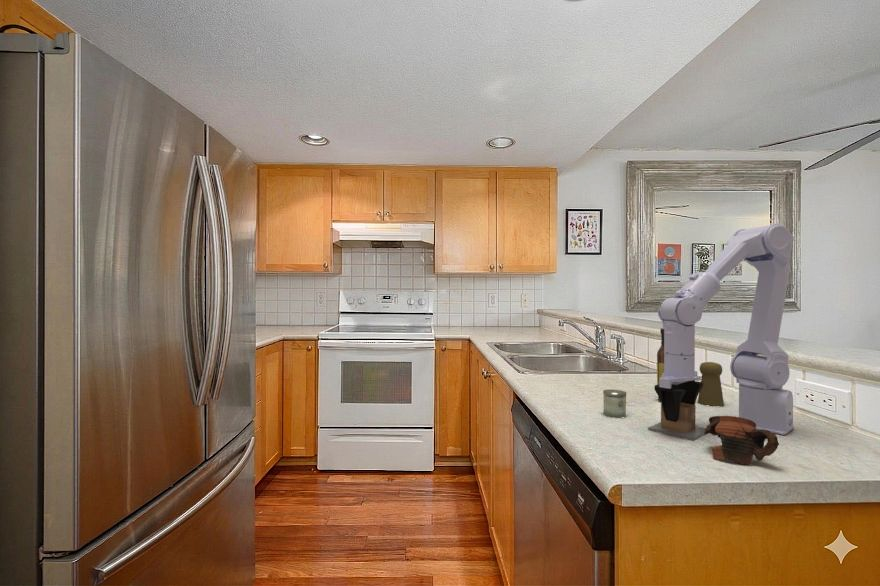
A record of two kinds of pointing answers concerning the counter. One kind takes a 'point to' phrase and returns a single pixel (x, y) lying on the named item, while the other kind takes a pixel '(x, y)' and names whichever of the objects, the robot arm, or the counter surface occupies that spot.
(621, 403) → the green spice tin
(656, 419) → the counter surface
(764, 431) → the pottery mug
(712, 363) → the cork
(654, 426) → the slate tile
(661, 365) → the sauce bottle
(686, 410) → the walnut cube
